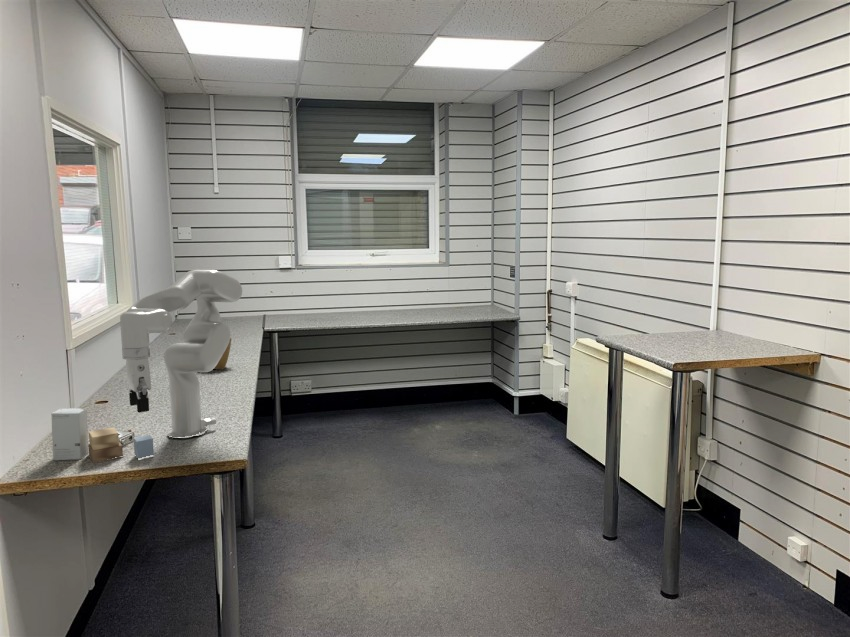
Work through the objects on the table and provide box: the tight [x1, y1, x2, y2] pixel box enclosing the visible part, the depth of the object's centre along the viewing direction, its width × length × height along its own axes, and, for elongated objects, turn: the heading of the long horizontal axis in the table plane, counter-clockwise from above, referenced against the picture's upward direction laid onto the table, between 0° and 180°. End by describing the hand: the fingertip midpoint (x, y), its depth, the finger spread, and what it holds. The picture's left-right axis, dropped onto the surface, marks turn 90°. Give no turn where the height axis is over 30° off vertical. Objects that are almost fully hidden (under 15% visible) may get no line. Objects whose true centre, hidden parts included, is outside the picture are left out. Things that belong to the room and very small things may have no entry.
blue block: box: [132, 434, 155, 458], centre depth 183 cm, size 4×4×6 cm
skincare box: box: [51, 407, 89, 461], centre depth 182 cm, size 8×6×15 cm
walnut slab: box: [88, 441, 124, 464], centre depth 184 cm, size 8×8×4 cm
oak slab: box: [88, 426, 120, 450], centre depth 183 cm, size 7×7×4 cm
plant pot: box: [214, 336, 232, 370], centre depth 305 cm, size 15×15×16 cm
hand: (139, 408), depth 181 cm, fingers open, 9 cm apart
